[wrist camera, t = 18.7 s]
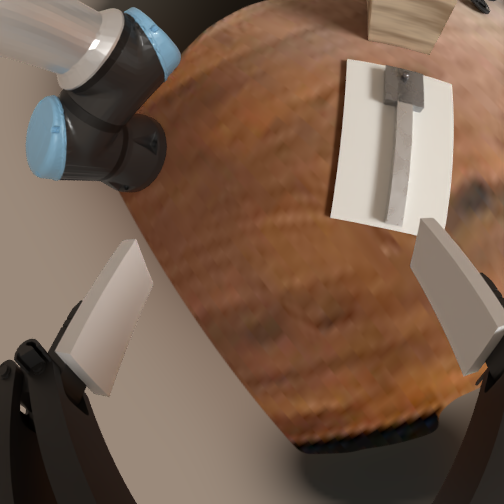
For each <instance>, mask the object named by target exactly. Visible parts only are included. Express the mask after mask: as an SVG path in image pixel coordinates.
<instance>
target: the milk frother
mask: <svg viewBox="0 0 504 504" xmlns="http://www.w3.org/2000/svg"><path fill="white" fill-rule="evenodd" d="M471 1H472V3H473V4H474V5H475V6H476V7H477V8H478V9H480V11H482V12H484V13H485V14H489V12H490V9H489V7H488V5H487V4H486V2H485V1H484V0H471ZM490 1H496V0H490Z"/></svg>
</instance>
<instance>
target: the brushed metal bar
mask: <svg viewBox="0 0 504 504" xmlns="http://www.w3.org/2000/svg"><path fill="white" fill-rule="evenodd" d="M383 104H385V105H389V106H394V107H395V110H394V133H393V147H392V159H391V169H390V178H389V187H388V194H387V202H386V208H385V215H384V221H383V223H385V224H390V225H395V226H399V227H402V224H403V218H404V212H405V205H406V198H407V190H408V182H409V172H410V161H411V147H412V127H413V111H415V112H418V113H420V112H421V111H422V110H423V109H424V83H423V74H420V73H417V72H413V71H409V70H405V69H401V68H397V67H392V66H388V65H386V66H385V70H384V100H383Z"/></svg>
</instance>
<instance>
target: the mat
mask: <svg viewBox="0 0 504 504" xmlns="http://www.w3.org/2000/svg"><path fill="white" fill-rule="evenodd" d="M384 70H385V66H384V65H379V64H374V63H368V62H363V61H356V60H350V59H347V73H346V89H345V102H344V114H343V125H342V135H341V144H340V153H339V161H338V169H337V176H336V184H335V191H334V197H333V204H332V210H331V217H330V218H335V219H341V220H346V221H351V222H356V223H361V224H366V225H371V226H376V227H381V228H385V229H390V230H395V231H399V232H404V233H408V234H413V235H417V233H418V229H419V223H420V218H434V219H435V220H436V221H437V222H438V223H439V224H440V225H441V227H442V228H443V229H444V230H445V225H446V218H447V212H448V204H449V196H450V187H451V176H452V162H453V135H454V121H453V94H452V84H449V83H446V82H443V81H440V80H437V79H434V78H431V77H427V76H424V75H423V83H424V109H423V110H422V111H421V112H420V113H418V112H415V111H413V127H412V147H411V161H410V172H409V182H408V190H407V198H406V205H405V212H404V218H403V224H402V227H399V226H395V225H390V224H385V223H383V221H384V215H385V208H386V202H387V194H388V187H389V178H390V169H391V159H392V147H393V133H394V110H395V107H394V106H389V105H385V104H383V100H384Z"/></svg>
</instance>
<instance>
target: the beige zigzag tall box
mask: <svg viewBox="0 0 504 504" xmlns="http://www.w3.org/2000/svg"><path fill="white" fill-rule="evenodd" d="M456 2H457V0H367V17H368V41H374V42H379V43H384V44H389V45H393V46H398V47H402V48H406V49H410V50H413V51H417V52H421V53H424V54H427V55H430V53H431V51H432V49H433V47H434V45H435V44H436V42H437V40H438V38H439V36H440V34H441V32H442V30H443V28H444V26H445V24H446V23H447V21H448V19H449V17H450V15H451V13H452V11H453V9H454V7H455V5H456Z"/></svg>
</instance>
